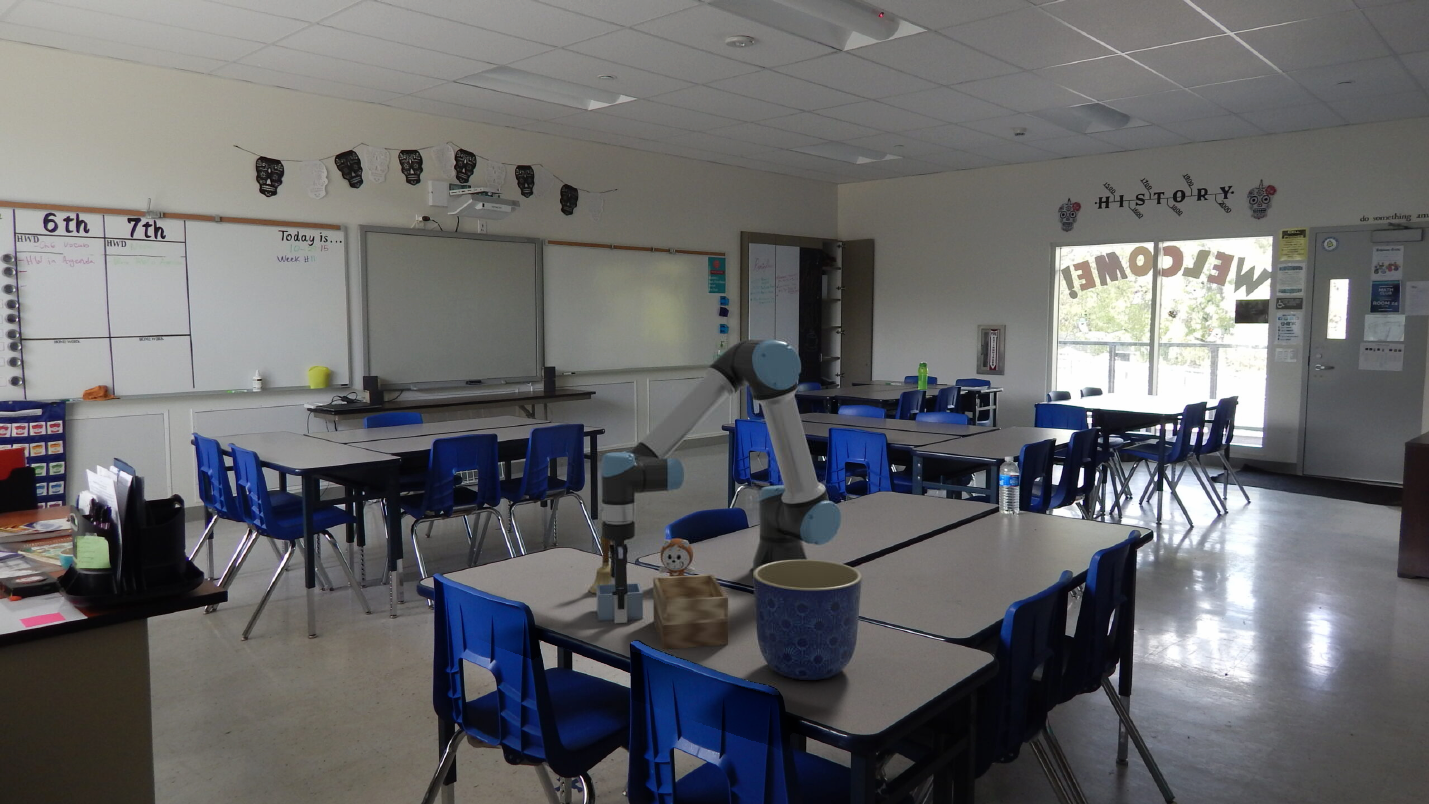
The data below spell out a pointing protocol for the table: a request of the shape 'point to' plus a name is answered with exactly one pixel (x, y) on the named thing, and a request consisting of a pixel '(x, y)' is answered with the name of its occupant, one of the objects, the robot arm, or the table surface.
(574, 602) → the table surface
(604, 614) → the blue crate
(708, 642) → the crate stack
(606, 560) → the hand bell
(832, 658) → the planter
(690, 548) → the figurine
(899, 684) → the table surface
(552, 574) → the table surface
